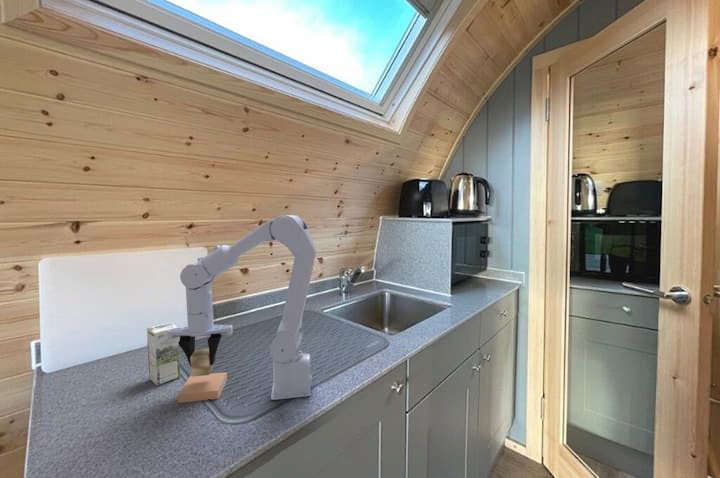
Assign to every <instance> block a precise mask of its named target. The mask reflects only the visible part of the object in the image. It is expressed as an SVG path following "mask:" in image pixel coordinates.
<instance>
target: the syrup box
mask: <svg viewBox="0 0 720 478" xmlns="http://www.w3.org/2000/svg"><path fill="white" fill-rule="evenodd" d="M175 328H178V327H177V325H175V324H174V323H172V322H166V323H163V324H158V325H154V326H150V327H147V328H146V338H147V356H148V357H147V358H148V359H147V360H148V373H149V374H148V375H149V376H148V377H149V380H150V381H151V382H153V384H155V385H156V386H157V387H158V386H160V385H164V384H166V383H169V382H171V381H174V380H177V379H180V377H181V368H180V366H181V365H180V346H179V344H178V342H179V341H180V338H173V339H168V331H169V330H170V329H175Z"/></svg>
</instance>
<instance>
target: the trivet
mask: <svg viewBox="0 0 720 478" xmlns="http://www.w3.org/2000/svg"><path fill="white" fill-rule="evenodd" d="M227 380H228V373H227V371H226V372H216V373H215V372H213V373H210V374H209V375H204V376H192V377H191V374H190V376H189V377H188V379H187V380H186V382H185V383H184V384H183V385H182V388H181V389H180V390H179V392H178V393H177V403H178V404H179V403H188V402H199V401H209V400H208V399H210V400H217V399H218V398H220V397H221V394H222V392H223V389H224V387H225V385H226V383H227Z"/></svg>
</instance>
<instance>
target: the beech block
mask: <svg viewBox="0 0 720 478" xmlns="http://www.w3.org/2000/svg"><path fill="white" fill-rule="evenodd" d="M209 358H210V353H209V348H203V349H202V348H201V349H195V351H194V352H193V354H192V355H191V357H190V361H191V367H190V375H191V377H192V376H204V375H209V374H211V372H212V370H213V368H214V364H213V365H210V361H209Z"/></svg>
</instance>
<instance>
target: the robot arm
mask: <svg viewBox="0 0 720 478" xmlns="http://www.w3.org/2000/svg"><path fill="white" fill-rule="evenodd" d="M274 241H277V242H279V243H280V244H281V245H283V246H285V247H286V248H287V249H288V250H289V252H290V253H291V254H292V255H293V257H294V258H293V259H294V260H293V265H292V269H291V274H290V279H289V283H288V289H287V293H286V297H285V302H284V307H283V312H282V317H281V320H280V324H279V326H278V328H277V332H276V336H275V338H274V339H273V340H272V342H271V343H270V345H269V353H270V355H271V357H272V374H273V375H272V377H273V378H272V379H273V382H272V388H271V395H270V400H271V401H275V400H285V399H293V398H295V399H296V398H303V397H304V398H305V397H310V396H312V393H311V392H312V383H313V381H312V380H313V379H312V378H313V377H312V376H313V375H311V354H310V353H304V352H303V350H302V349H301V347H300V345H301V343H302V342H303V340H304V339H303V338H304V334H303V329H302V328H303V327H302V326H303V316H304V315H303V314H304V312H305V305H306V302H307V297H308V294H309V293H308V292H309V287H310V283H311V279H312V274H313V269H314V264H315V260H316V255H317V250H316V246H315V244H314V241H313V238H312V235H311V232H310V227H309V225H308V224H307V223H306V222H305V220H303V219H302V217H301V216H299V215H297V214H288V215H286V214H281V215H279V216H277V217H275V218H274V219H271V220H269V221H267V222H265V223H263V224H261V225H260V226H258V227H256V228H255V229H254V230H252V231H251V232H249V233H247V234H246V235H244V236H243V237H242V238H240V239H239V240H238V241H236V242H235V243H233V244H232V245H227V244H222V245H220V244H219V245H216V246H214V247H213V248H212V249H213V251H211V252H210V253H208V254H206V255H205V256H200V257H198V258H197V259H196V263H190V264H186V266H185V267H184V268H183V269H182V270H181V272H180V276H179V277H180V283H182V285H183V286H184V287H185V295H186V296H185V299H186V316H187V326H183V327H177V328H175V329H170V330H169V331H168V339H173V338H178V339H179V342H178V344H179V348H181V350H182V351H183V353H184V354H185V356H186V358H187V361H188V363H189V364H188V365H189V367H190V368H191V361H190V357H191V355H192V354H193V352H194V351H195V350H196V348H195V347H196V337H206V336H207V337H208V336H210V337H209V338H207V345H208V349H209V353H210V358H209V361H210V365H213V366H214V364H215V361H216V355H217V350H218V347H219V344H220V343H221V339H222V337H223V335H226V336H232V334H233V332H234V330H233V328H234V326H233V324H216V323H215V324H214V309H213V308H214V307H213V305H214V304H213V289H212V288H213V285H212V283H213V281H214V280H215V278H218V277H219V276H221V275H223V274H224V273H226V272H227V271H229V270H230V269H231V268H233V267H235V266H237V264H238V263H239V258H240V257H241V256H242V255H245V254H246V253H247V252H249V251H251V250H252V249H254V248H256V247H257V246H259V245H261V244H262V243H264V242H274Z"/></svg>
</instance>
